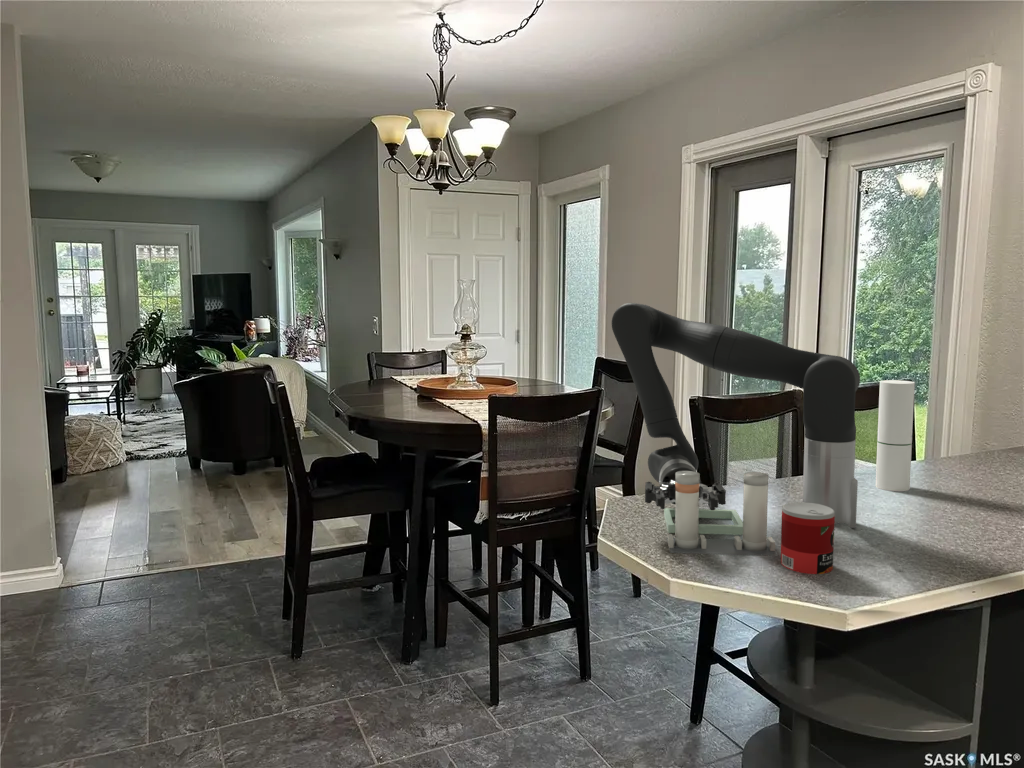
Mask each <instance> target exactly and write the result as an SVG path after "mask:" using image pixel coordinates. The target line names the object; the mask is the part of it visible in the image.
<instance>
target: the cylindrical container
mask: <svg viewBox="0 0 1024 768" xmlns="http://www.w3.org/2000/svg"><path fill="white" fill-rule="evenodd" d="M914 403H915V381H911V380H902V379H901V380H900V379H899V380H897V379H896V380H895V379H890V380H889V379H886V380H879V396H878V420H877V443H876V467H875V469H876V470H875V487H876V488H877V489H879V490H882V491H889V492H908V491H910V487H911V472H912V471H911V467H912V465H911V464H912V448H913V444H912V443H913V425H914V424H913V423H914V422H913V421H914Z"/></svg>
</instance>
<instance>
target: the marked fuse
mask: <svg viewBox="0 0 1024 768" xmlns="http://www.w3.org/2000/svg"><path fill="white" fill-rule="evenodd" d="M700 475H701V474H700V473H699V472H697V471H696V472H693V471H679V472H676V477H675V490H676V505H675V506H674V507H675V517H674V519H675V533H674V534H675V535H674V538H675V546H676V547H678V548H681V549H696V548H698V547H699V539H700V536H699V534H698V531H699V524H700V523H699V519H700V518H699V509H700V504H699V499H700V498H699V479H700V480H701V477H700Z"/></svg>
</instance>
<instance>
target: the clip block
mask: <svg viewBox="0 0 1024 768" xmlns="http://www.w3.org/2000/svg"><path fill="white" fill-rule="evenodd" d="M666 541H667V545H668V550H669V553H670V554H695V555H697V554H698V555H726V556H727V555H728V556H729V555H731V556H759V557H760V556H761V557H762V556H765V557H766V556H767V557H778V556H779V555H778V553H777V551H776V541H775V539H774V538H773V537H772V536H767V549H766V550H764V551H750V550H746V549H744V548H743V547H742V539H741V537H740V536H739V535H734V536H733V539H732V538H731V539H730V538H729V539H727V538H723V539H722V538H706V537H705V534H699V547H698V548H696V549H681V548H678V547H676V546H675V537H674V536H673V533H667V537H666Z"/></svg>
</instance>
